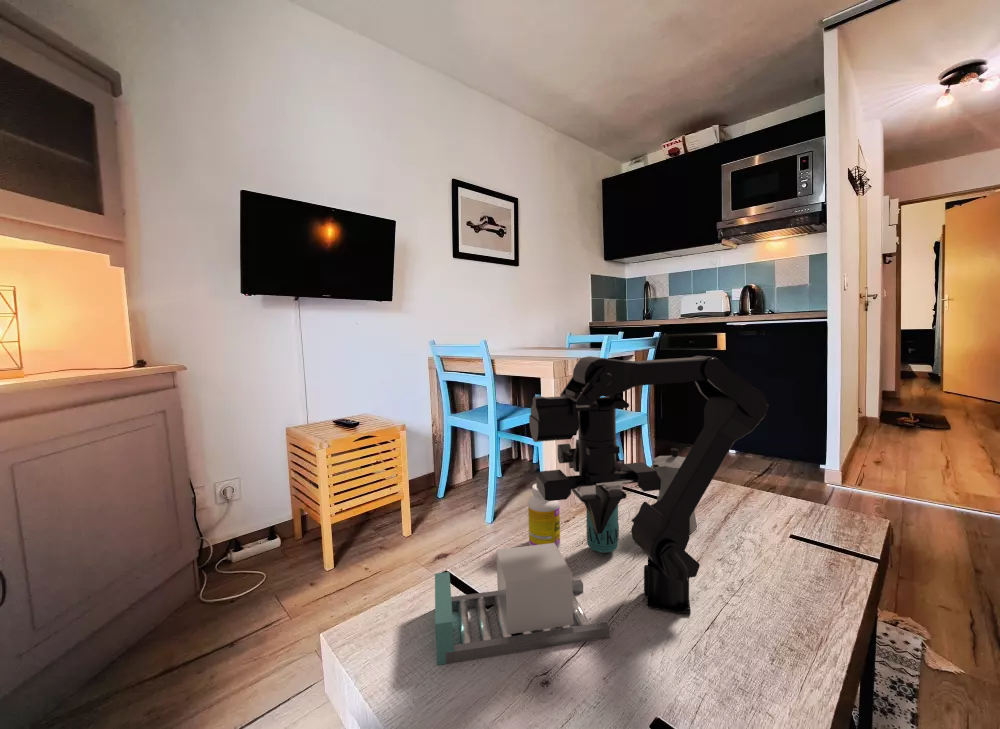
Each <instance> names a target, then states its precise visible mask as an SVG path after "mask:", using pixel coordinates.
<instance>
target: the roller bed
mask: <svg viewBox="0 0 1000 729" xmlns="http://www.w3.org/2000/svg"><path fill="white" fill-rule="evenodd" d="M450 574H451V573H450V571H447V572H438V573H437V572H436V573H434V624H435V626H434V627H435V628H434V629H435V630H434V631H435V645H436V647H435V649H436V666H443V665H447V664H454V663H455V664H456V663H461V662H466V661H471V660H480V659H484V658H492V657H498V656H504V655H509V654H516V653H522V652H528V651H535V650H536V651H537V650H542V649H549V648H553V647H560V646H567V645H572V644H578V643H586V642H591V641H599V640H602V639H603V640H604V639H609V638H610V637H611V634H610V631H611V630H610V625H609V624H608V623H607V621H603V622H597V623H590V622H589V620H588V618H587V616H586V614H585V612H584V610H583V608H582V607H581V605H580V603H579V601H578V599H577V597H576V596H575V594H580V593H584V582H583V581H582V579H575V580H573V579H572V589H573V617H574V618H575V619H576V621H577V624H578V625H577V626H571V625H567V626H560V627H559V628H558V629H557V628H556V629H552V628H547V629H541V630H540V631H538V632H533V631H527V632H521V633H520V634H518V635H513V634H508V635H507V631H506V626H505V622H504V618H503V614H502V610H501V606H500V602H499V598H498V590H493V591H485V592H477V593H470V594H464V595H463V594H461V595H455V596H452V592H451V591H452V590H451V589H452V588H451V575H450ZM493 605H494V609H495V613H496V618H497V622H498V626H499V632H500V635H501V637H498V638H493V637H492V633H491V632H492V631H491V628H490V627H491V626H490V624H489V617H488V612H487V607H488V606H493ZM473 608H476V614H477V619H478V620H477V621H478V626H479V633H480V639H481V640H478V641H472V637H471V628H470V621H469V614H468V612H469V611H468V610H469V609H473ZM453 611H457V614H458V615H457V616H458V625H459V626H458V628H459V636H460V643H459V644H455V641H454V640H455V639H454V638H455V637H454V619H453Z"/></svg>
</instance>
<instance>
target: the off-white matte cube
mask: <svg viewBox="0 0 1000 729" xmlns="http://www.w3.org/2000/svg"><path fill="white" fill-rule="evenodd" d="M495 551H496V552H495V553H496V554H495V555H496V573H497V574H496V578H497V579H496V581H497V584H496V585H497V591H498V598H499V602H500V606H501V610H502V614H503V618H504V622H505V626H506V631H507V635H508V634H512V635H513V634H514V635H515V634H521V632H527V631H531V632H533V631H541V629H547V628H551V629H552V628H553V629H554V628H558V627H559V628H560V626H567V625H570V626H571V625H574V614H573V589H572V581H573V572H572V570H571V569H570V567H569V565H568V564H567V562H566V560H565V558H564V557H563V555H562V554H561V551H560V550H559V547H558V548H557V546H556V545H555V543H549V544H541V545H532V546H530V545H525V546H516V547H509V548H508V547H507V548H500V549H496V550H495Z"/></svg>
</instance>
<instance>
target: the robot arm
mask: <svg viewBox="0 0 1000 729" xmlns="http://www.w3.org/2000/svg"><path fill="white" fill-rule="evenodd" d="M678 383H679V384H680V383H695V386H696V387H697V389H698V391H699V393H700V394H701V395H702V396H703V397H704V398H705V399H706V400H707V401H706V404H705V405H704V409H703V422H704V423H703V428H702V429H701V431H700V433H699V434H698V436H697V438H696V439H695V442H694V443H693V445H692V446H691V448H690V450H689V451H688V453H687V455H686V456H685V460H684V462H683V463H682V465H681V467H680V468H679V470H678V472H677V473H676V475H675V477H674V479H673V480H672V482H671V484H670V485H669V487H668V489H667V490H666V492H665V494H664V496H663V497H662V499H661V500H659V501H658V502H657V501H656V502H655V503H653V504H649V503H648V502H647V501H643V503H642V504H641V505H640V508H639V510H638V513H637V514H636V515H635V516H634V517H633V518H632V519H631V522H632V523H633V524H632V527H631V528H630V529H631V530H630V533H631V536H632V540H633V542H634V543H635V545H637V547H638V548H639V549H640V550H641V552H642V554H644V555H645V556H646V557H647V564H645V565H644V566H643V595H644V596H645V597H646V607H647V608H650V609H655V610H661V611H666V612H672V613H675V614H682V615H686V616H690V615H691V614H692V613H691V603H690V578H691V579H692V578H696V577H697V575H698V572H699V569H700V566H701V565H700V563H699V562H698V561H697V560H696V559H695V558H693V556H692V555H690V553H688V552H687V551H686V549H687V546H688V544H689V542H690V534H691V533H690V517H691V515H692V513H693V512H695V510H696V508H697V507H698V505H699V503H700V502H701V499H702V498H703V496H704V494H705V492H706V491H707V489H708V487H709V486H710V484H711V483H712V480H713V479H714V477H715V476H716V474H717V472H718V470H719V469H720V467H721V466H722V464H723V462H724V460H725V459H726V457H727V455H728V454H729V452H730V450H731V448H733V447H732V446H733V445H734V444H735V442H737V441H738V440H739V439H742V438H744V437H745V436H747V435H748V434H749V433H752V432H753V431H754V429H755V428H757V426H758V425H759V424H760V422H762V420H763V419H764V418H765V416H766V415H767V412H768V409H769V404H768V403H767V398H766V395H765V394H764V393H763V391H762V390H760V389H758V388H756V387H754V386H753V385H752V384H751V383H750V382H749V381H747V380H746V379H744V378H743V377H741V376H740V375H738V374H737V373H736V372H734V371H732V370H731V369H729V368H728V366H726V364H725V363H724V362H723V361H722V360H720V359H719V358H717V357H716V356H704V355H695V356H692V357H680V358H666V359H665V358H663V359H662V358H661V359H645V360H631V361H630V360H623V359H622V360H621V359H615V358H606V357H600V356H599V357H598V356H590V355H589V356H584V357H581V358H580V359H579V360H578V361H577V363H575V365H574V368H573V371H572V377H571V378H570V379H569V381H568V382H567V384H566V386H565V387H564V388H563V390H562V391H561V393H560V396H546V397H545V396H541V395H539V396H533V398H532V405H531V408H530V415H529V416H528V417H529V418H528V420H529V421H528V423H529V430H530V436H531V438H532V440H533V442H534V443H537V442H551V441H554V442H555V441H566V440H567V441H568V440H571V439H573V438H574V436H577V435H578V439H576V440H575V447H574V448H572V446H571V444H570V443H561V444H557V461H558V463H559V464H568V468H569V469H572V470H573V471H574V472H575V473H578V474H579V475H570V476H568V475H566V474H565V473H564V472H563V471H562V470H561V469H553V470H542V471H539V473H538V474H537V475H536V478H535V480H536V481H535V482H536V483H537V489H538V490H539V492H540V493H541V495H542V496H543V498H544V499H545V500H547V501H556V500H559V501H564V500H565V501H566V500H568V498H569V497H570V496H571V495H572V492H573V494H574V495H575V496H576V497H577V498H578V500H579V501H580V502H582V503H583V504H584V506H585V509H586V512H587V511H588V513H589V516H590V519H591V522H592V524H593V527H594V530H595V532H596V533H597V534H602V532H603V531H604V529H605V527H606V525H607V523H608V521H609V519H610V517H611V515H612V513H613V511H614V510H615V508H616V507H617V505H618V506H619V503H620V502H621V501H622V500H624V499H626V498H627V495H628V494H627V493H626V492H624V491H623V485H625V484H636V483H637V487H639V489H641V491H642V492H653V491H659V490H660V489H661V478H660V475H659V473H658V472H657V471H656V470H654V469H652V468H651V466H649V465H647V464H646V463H644V462H643V461H642V462H633V463H631V462H629V463H623V464H622V465H621V467H620V471H618V470H617V454H620V453H621V452H620V446H619V445H617V438H616V437H617V435H616V434H617V433H616V432H617V430H616V429H617V424H616V422H617V420H616V418H617V416H616V415H617V414H616V413H617V412H616V409H618V410H619V409H628V408H629V407H630V403H628V402H627V401H626V400H624V399H623V398H622V397H621V395H620V394H621V393H623V392H627V391H629V390H631V389H633V388H636V387H641V386H651V385H654V386H655V385H666V384H678ZM536 483H535V484H536ZM596 492H597V494H596Z"/></svg>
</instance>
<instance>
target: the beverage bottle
mask: <svg viewBox="0 0 1000 729" xmlns="http://www.w3.org/2000/svg"><path fill="white" fill-rule="evenodd" d="M596 494H597V492H596ZM619 514H620V513H619V504H618V505H617V507H616V508H615V510H614V511H613V513H612V515H611V517H610V519H609V521H608V523H607V525H606V527H605V529H604V531H603V532H602V534H597V533H596V532H595V530H594V527H593V524H592V522H591V519H590V516H589V513H588V511H587V510H586V514H585V515H586V516H585V517H586V520H585V522H586V538H585V539H586V543H587V545H588V547H589V549H591V550H593V551H594V552H595V551H596V552H599V553H612V552H615V551H616V550H617V548H618V546H619V542H620V535H619V534H620V533H619V532H620V531H619V530H620V528H619V516H620V515H619Z"/></svg>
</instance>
